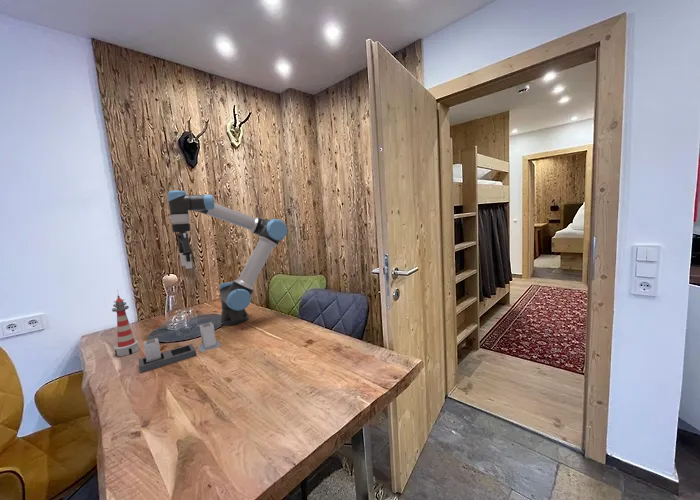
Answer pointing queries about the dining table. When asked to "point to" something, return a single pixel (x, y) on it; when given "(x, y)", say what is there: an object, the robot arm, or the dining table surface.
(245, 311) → the robot arm
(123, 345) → the miniature lighthouse
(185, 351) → the rail
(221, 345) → the mat
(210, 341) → the grey square peg
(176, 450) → the dining table surface
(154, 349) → the silver square post
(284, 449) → the dining table surface
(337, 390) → the dining table surface
